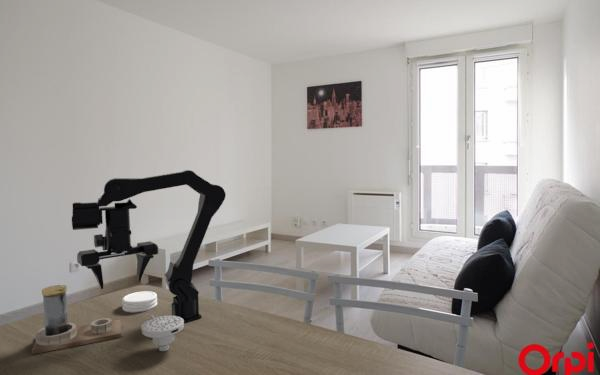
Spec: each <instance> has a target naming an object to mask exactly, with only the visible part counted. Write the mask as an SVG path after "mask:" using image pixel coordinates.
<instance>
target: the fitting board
mask: <svg viewBox="0 0 600 375" xmlns="http://www.w3.org/2000/svg"><path fill="white" fill-rule="evenodd" d="M118 338H122V324H121V319H115V320H112V318H110V317H109V318H107V317H105V318H98V319H95V320H93V321H91V322H90V324H85V325H79V326H77V324H75V323H74V322H68V331H67V332H64V333H62V334H58V335H53V336H46V334H45V326H44V327H42V328H41V329H39V330H37V331H36V333H35V341H34V344H33V347H32V348H31V355H36V354H40V353H46V352H52V351H56V350H62V349H66V348H72V347H77V346H81V345H88V344H93V343H97V342H98V343H99V342H104V341H108V340H113V339H118Z"/></svg>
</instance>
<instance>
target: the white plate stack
mask: <svg viewBox="0 0 600 375" xmlns="http://www.w3.org/2000/svg"><path fill="white" fill-rule="evenodd" d="M121 302H122V304H121V306H122V310H123V311H124V312H125V313H134V314H135V313H142V312H146V311H150V310H153V309H154V308H156V306H158V294H157V293H156V292H154V291H150V290H143V291H136V292H133V293H132V292H131V293H129V294H126V295H125V296H123V298H122V299H121Z"/></svg>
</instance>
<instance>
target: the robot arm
mask: <svg viewBox="0 0 600 375" xmlns="http://www.w3.org/2000/svg"><path fill="white" fill-rule="evenodd" d="M180 186H188V187H189V188H190V189H192V191H195V193H198V194H199V199H198V206H197V207H198V208H197V212H196V215H195V218H194V221H193V223H192V225H191V229H190V231H189V232H188V235H187V238H186V241H185V243H184V246H183V248H182V251H181V253H180V255H179V257H178V259H177V260H176V262H172V261H170V262H169V264H168V269H167V271H166V272H165V274H164V277H165V283H166V286H167V287H168V290H169V292H170V293H171V294H172V295H173V297H172V303H171V315H170V316H173V315H174V316H178V317H181V318H182V319H183V320H184V323H187V322H191V321H194V320H197V319H200V318H202V315H201V313H200V308H199V306H200V305H199V293H200V291H199V290H198V289H197V287H196V286H195V284H194V283H193V282H192V279H193V271H194V264H195V261H196V259H197V255H198V253H199V252H200V249H201V246H202V244H203V241H204V239H205V236H206V234H207V231H208V229H209V225H210V223H211V220H212V218H213V217H214V216H215V214H216V213H217V212H218V211H219V210H220V208H221V206H222V205H223V203H224V201H225V199H226V192H225V190H224V188H223V187H222V186H220V185H218V184H214V183H213V184H212V183H210V182H209V181H207V180H206V179H205V178H203V177H201V176H199V174H197V173H196V172H195V171H193V170H188V169H186V170H183V171H178V172H172V173H171V172H170V173H167V174H166V173H165V174H161V175H153V176H146V177H143V178H142V177H141V178H134V177H133V178H132V177H131V178H129V177H127V178H126V177H124V178H122V177H121V178H120V177H119V178H118V177H115V178H111V179H109V180H108V181H107V182H106V183H105V184H104V188H103V194H102V195H101V196H100V197H99V198H98V199H97V201H96V202H95V201H94V202H92V201H91V202H81V201H80V202H78V201H77V202H73V203H72V216H71V228H72V231H78V230H89V229H91V230H92V229H99V226H100V225H103V221H105V231H104V233H105V234H104V235H103V234H102V233H101V234H95V235H93V243H94V244H93V245H94V247H95V248H102V251H98V250H96V249H88V250H87V249H86V250H80V251H78V253H77V254H76V261H77V263H78V264H79V265H80V266H81V267H85V268H87V269H90V270H91V271H92V273H93V276H94V277H95V279H96V282H97V284H98V285H99V286H98V287H99V289H100V290H103V289H104V277H103V269H102V264H100V263H99V262H100V260H104V259H111V258H117V257H118V258H119V257H124V256H129V255H135V256H136V261H137V262H136V263H137V264H136V279H137V282H138V283H140V282H141V280H142V277H143V275H144V272H145V270H146V268H147V266H148V264H149V263H150V260H151V259H154V256H155V255H158V254H159V246H158V244H156V243H155V242H152V241H143V242H142V241H141V242H137V244H136V246H132V242H131V235H132V230H131V223H130V221H131V220H130V210H133V209H137V208H138V206H137V204H135V203H134V202H133V201H132V200H131V198H133V197H135V196H138V195H140V194H143V193H148V192H152V191H153V192H154V191H157V190H165V189H170V188H176V187H180ZM127 199H128V200H127ZM124 200H127V201H126V202H121V201H124ZM113 202H114V206H108V205H110V204H111V203H113ZM103 212H104V216H105V220H103Z"/></svg>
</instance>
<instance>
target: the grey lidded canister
mask: <svg viewBox="0 0 600 375" xmlns="http://www.w3.org/2000/svg"><path fill="white" fill-rule="evenodd" d="M67 288H68V287H67V285H64V284H58V285H51V286H46V287H44V288H42V290H41V295H42V298H43V299H42V300H43V301H42V302H43V315H44V327H45V334H46V336H53V335H58V334H62V333H64V332H67V331H68V323H69V322H68V321H69V320H68V305H67V304H68V303H67V302H68V301H67V291H68V289H67Z"/></svg>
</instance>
